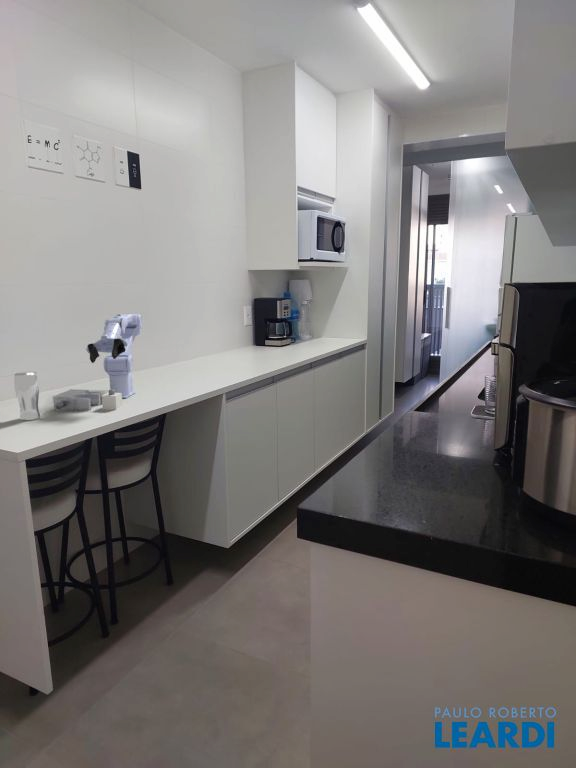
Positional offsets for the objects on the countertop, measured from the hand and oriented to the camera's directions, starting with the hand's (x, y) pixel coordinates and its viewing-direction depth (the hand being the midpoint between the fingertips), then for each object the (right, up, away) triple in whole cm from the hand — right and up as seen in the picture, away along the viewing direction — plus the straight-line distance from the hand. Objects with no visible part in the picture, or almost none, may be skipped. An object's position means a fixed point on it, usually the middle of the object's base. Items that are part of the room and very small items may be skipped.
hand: (102, 358), depth 174 cm
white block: (+1, -17, +6) cm, 19 cm away
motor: (-11, -17, +6) cm, 22 cm away
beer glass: (-21, -20, -7) cm, 30 cm away
